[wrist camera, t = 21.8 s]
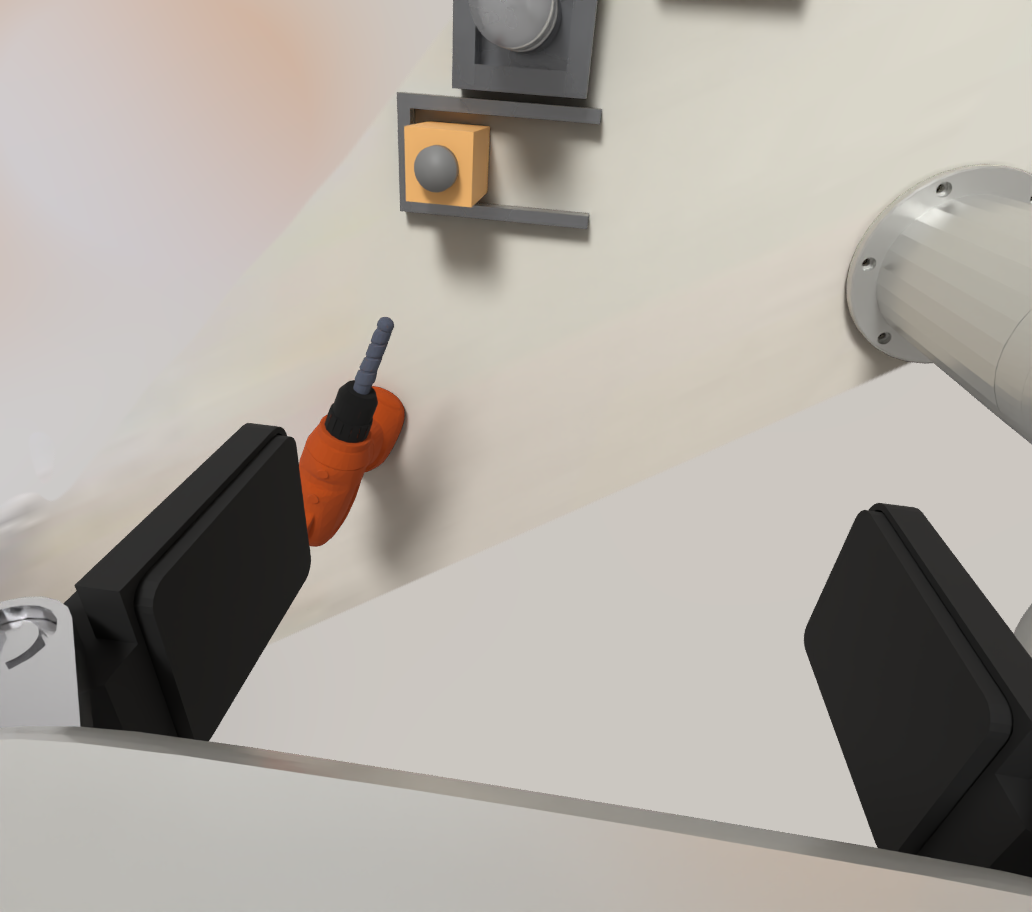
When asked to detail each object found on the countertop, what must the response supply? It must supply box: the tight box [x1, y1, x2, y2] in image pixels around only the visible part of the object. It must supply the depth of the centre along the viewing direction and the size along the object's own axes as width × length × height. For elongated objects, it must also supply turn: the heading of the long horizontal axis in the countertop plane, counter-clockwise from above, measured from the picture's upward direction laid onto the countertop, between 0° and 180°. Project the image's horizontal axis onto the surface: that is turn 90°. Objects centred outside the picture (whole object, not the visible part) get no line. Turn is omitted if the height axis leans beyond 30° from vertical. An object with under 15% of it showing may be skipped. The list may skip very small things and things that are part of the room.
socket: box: [452, 0, 598, 99], centre depth 35 cm, size 8×8×3 cm
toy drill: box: [299, 317, 405, 547], centre depth 43 cm, size 5×19×15 cm, turn 154°
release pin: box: [404, 121, 490, 207], centre depth 38 cm, size 4×4×7 cm
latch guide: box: [397, 92, 602, 229], centre depth 40 cm, size 13×7×1 cm, turn 86°
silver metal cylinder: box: [469, 0, 562, 55], centre depth 33 cm, size 4×4×8 cm
